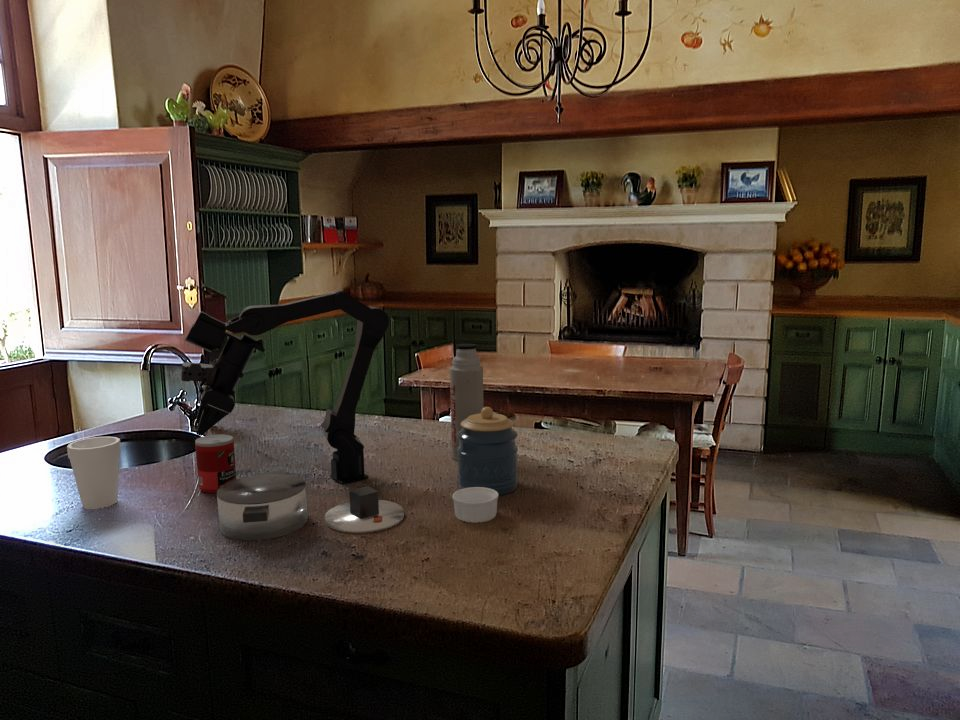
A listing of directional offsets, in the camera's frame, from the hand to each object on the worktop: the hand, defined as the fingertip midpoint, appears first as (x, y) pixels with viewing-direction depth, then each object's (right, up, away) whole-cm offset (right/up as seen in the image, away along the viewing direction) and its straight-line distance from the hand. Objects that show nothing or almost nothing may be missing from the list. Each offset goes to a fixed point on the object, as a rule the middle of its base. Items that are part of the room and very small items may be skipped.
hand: (198, 429), depth 147 cm
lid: (+36, -16, -11) cm, 41 cm away
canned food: (+1, -14, +7) cm, 16 cm away
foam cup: (-20, -15, -1) cm, 25 cm away
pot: (+18, -17, -13) cm, 27 cm away
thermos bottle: (+56, -10, +27) cm, 63 cm away
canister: (+60, -13, +6) cm, 62 cm away
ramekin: (+58, -16, -10) cm, 61 cm away
